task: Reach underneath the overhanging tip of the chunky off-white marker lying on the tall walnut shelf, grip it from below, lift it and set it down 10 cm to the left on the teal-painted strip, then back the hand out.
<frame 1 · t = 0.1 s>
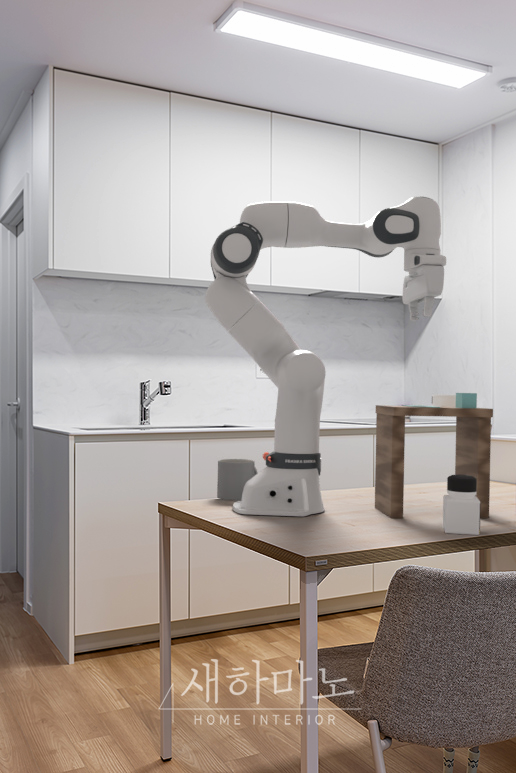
hand: (420, 318, 174), 48 cm above the table, tool pointing down, fingers open, 8 cm apart
shelf: (429, 512, 171), on the table
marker: (451, 406, 177), point 26 cm above the table, touching shelf
coffee mug: (240, 497, 189), on the table
medicine bottle: (460, 532, 149), on the table
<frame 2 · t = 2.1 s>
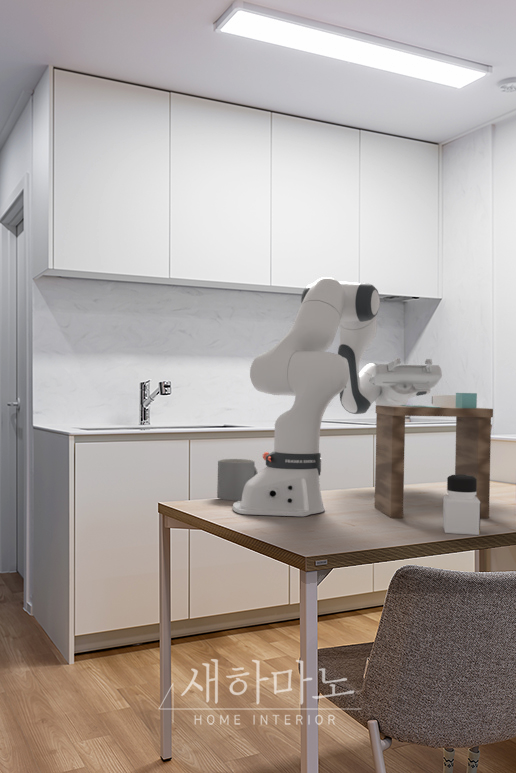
hand: (413, 360, 202), 39 cm above the table, tool pointing upward, fingers open, 8 cm apart
nothing on the table moved.
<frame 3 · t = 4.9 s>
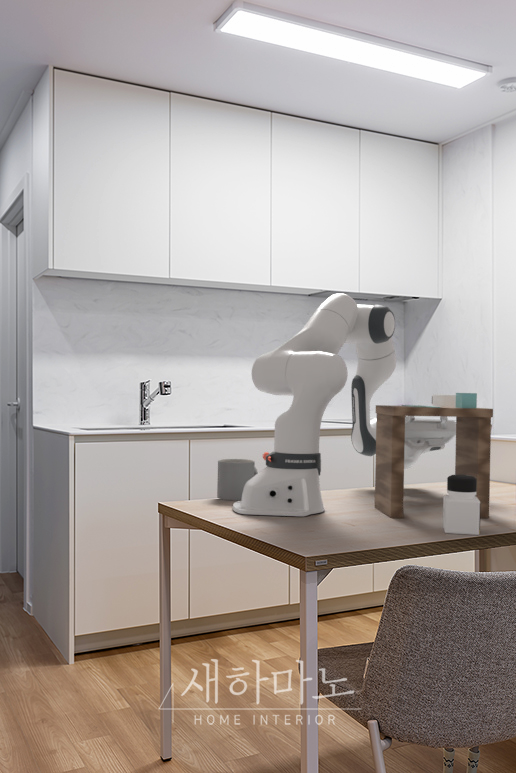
hand: (428, 417, 193), 23 cm above the table, tool pointing upward, fingers open, 8 cm apart
nothing on the table moved.
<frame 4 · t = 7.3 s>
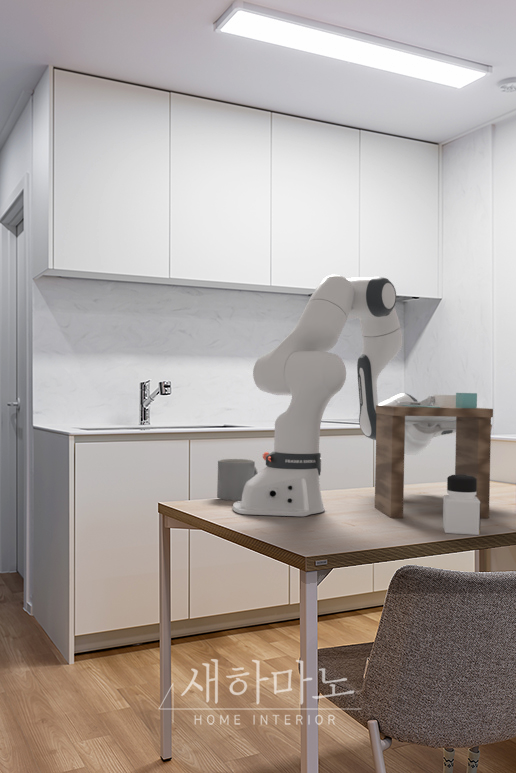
hand: (440, 398, 185), 28 cm above the table, tool pointing upward, fingers closed on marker, 3 cm apart
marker: (451, 406, 177), point 26 cm above the table, touching gripper, shelf
everything else where it was.
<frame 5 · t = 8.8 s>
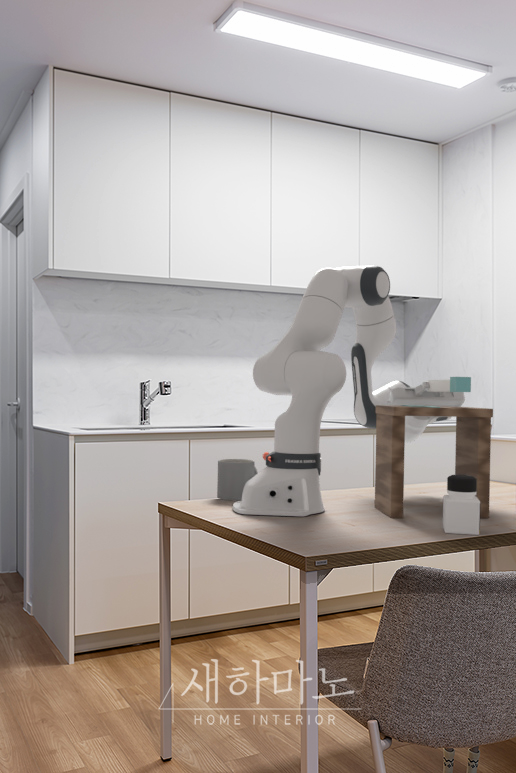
hand: (434, 384, 185), 32 cm above the table, tool pointing upward, fingers closed on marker, 3 cm apart
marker: (446, 391, 177), point 30 cm above the table, touching gripper
everything else where it was.
when the fingers open (30 cm above the table, at t = 10.5 s): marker drops 1 cm, resting on shelf.
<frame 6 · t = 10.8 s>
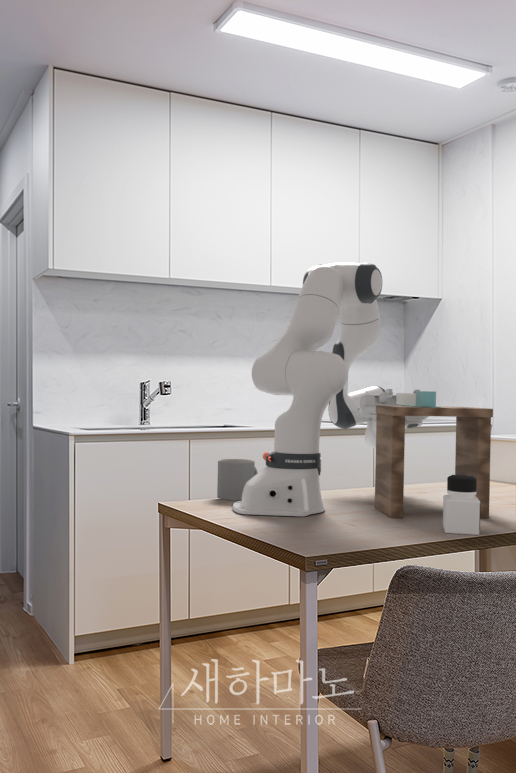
hand: (403, 391, 184), 30 cm above the table, tool pointing upward, fingers open, 6 cm apart
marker: (413, 405, 176), point 26 cm above the table, touching shelf
everything else where it was.
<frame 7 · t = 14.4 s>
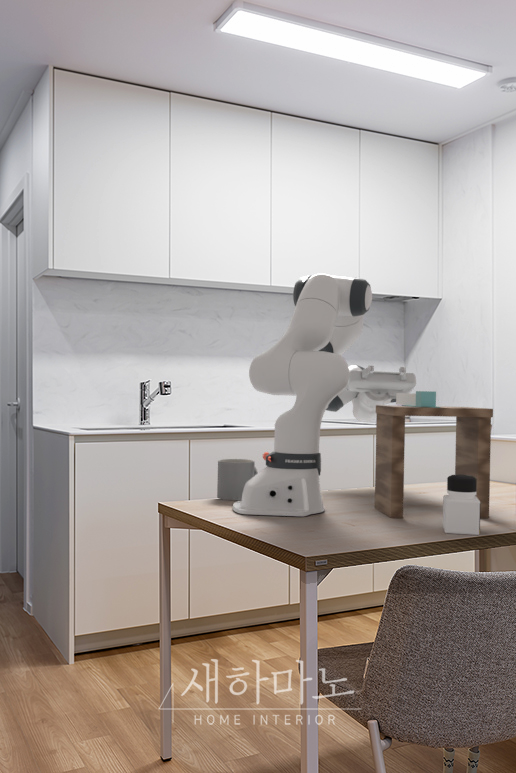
hand: (387, 368, 200), 36 cm above the table, tool pointing upward, fingers open, 8 cm apart
nothing on the table moved.
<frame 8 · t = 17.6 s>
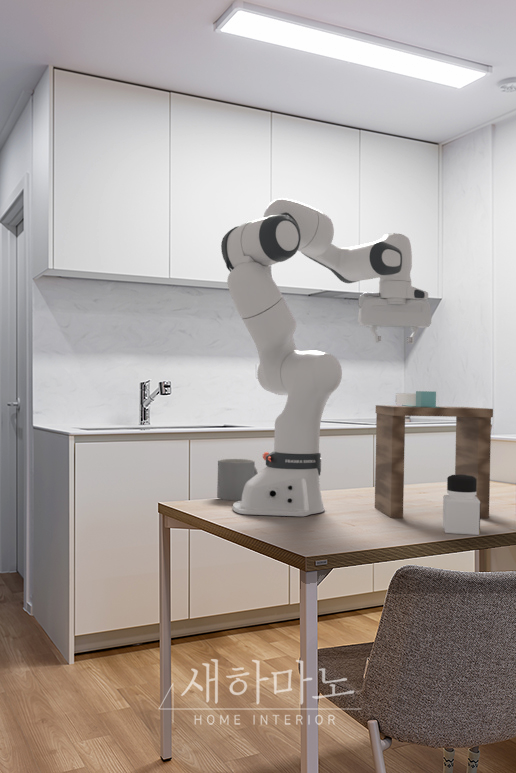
hand: (394, 343, 194), 43 cm above the table, tool pointing down, fingers open, 8 cm apart
nothing on the table moved.
at the end: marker 0.1 cm from the target spot, point 26.2 cm above the table; the gripper is holding nothing; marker tilted 0° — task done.
